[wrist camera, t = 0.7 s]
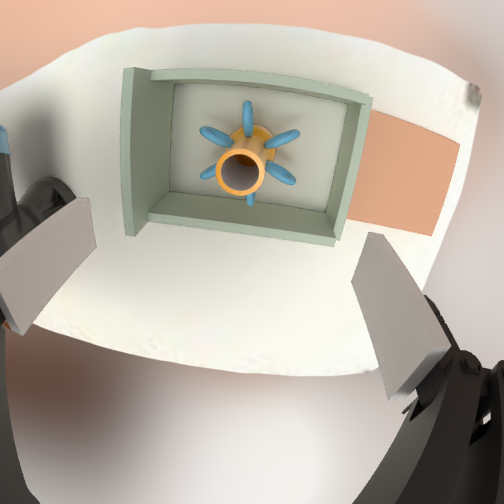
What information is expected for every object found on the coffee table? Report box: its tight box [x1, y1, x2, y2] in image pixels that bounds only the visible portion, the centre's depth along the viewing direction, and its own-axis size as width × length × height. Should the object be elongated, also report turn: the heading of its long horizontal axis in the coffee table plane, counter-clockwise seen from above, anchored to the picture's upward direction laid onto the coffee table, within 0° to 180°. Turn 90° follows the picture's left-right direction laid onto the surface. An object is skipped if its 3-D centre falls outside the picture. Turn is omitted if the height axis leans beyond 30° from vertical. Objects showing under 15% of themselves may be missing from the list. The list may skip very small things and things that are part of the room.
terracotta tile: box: [346, 110, 460, 236], centre depth 34 cm, size 16×16×1 cm
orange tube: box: [200, 100, 300, 206], centre depth 28 cm, size 12×10×15 cm
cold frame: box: [120, 67, 373, 247], centre depth 29 cm, size 25×18×12 cm
